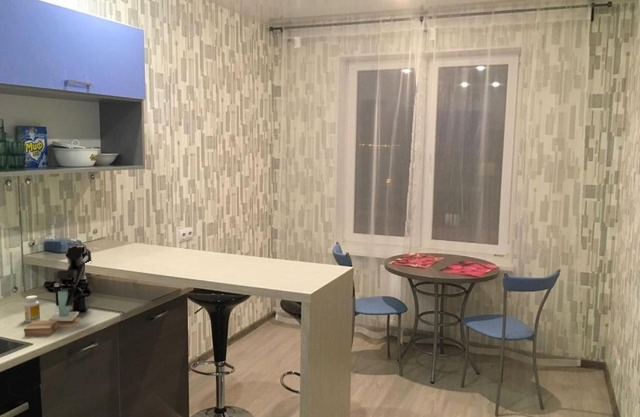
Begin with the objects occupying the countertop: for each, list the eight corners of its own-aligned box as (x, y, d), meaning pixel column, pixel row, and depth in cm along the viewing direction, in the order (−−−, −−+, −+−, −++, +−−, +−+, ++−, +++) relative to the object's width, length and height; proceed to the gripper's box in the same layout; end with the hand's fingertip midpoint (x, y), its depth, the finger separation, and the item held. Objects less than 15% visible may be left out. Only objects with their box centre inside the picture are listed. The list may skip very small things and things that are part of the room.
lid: (56, 314, 221) (55, 288, 220) (78, 313, 222) (77, 288, 221) (49, 321, 213) (47, 294, 211) (71, 320, 214) (70, 294, 212)
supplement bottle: (42, 317, 224) (41, 294, 222) (36, 321, 218) (34, 298, 217) (29, 317, 223) (28, 294, 222) (22, 321, 218) (21, 298, 217)
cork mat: (55, 319, 222) (55, 318, 222) (81, 318, 223) (81, 317, 223) (46, 327, 212) (46, 326, 212) (73, 326, 213) (73, 325, 213)
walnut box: (34, 328, 211) (33, 320, 211) (58, 327, 212) (58, 320, 212) (24, 336, 202) (23, 328, 202) (50, 335, 203) (49, 328, 203)
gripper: (44, 261, 219) (30, 295, 209) (89, 262, 218) (76, 297, 209) (55, 275, 228) (42, 308, 218) (98, 276, 227) (87, 310, 218)
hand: (61, 305), depth 215 cm, fingers closed on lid, 4 cm apart
